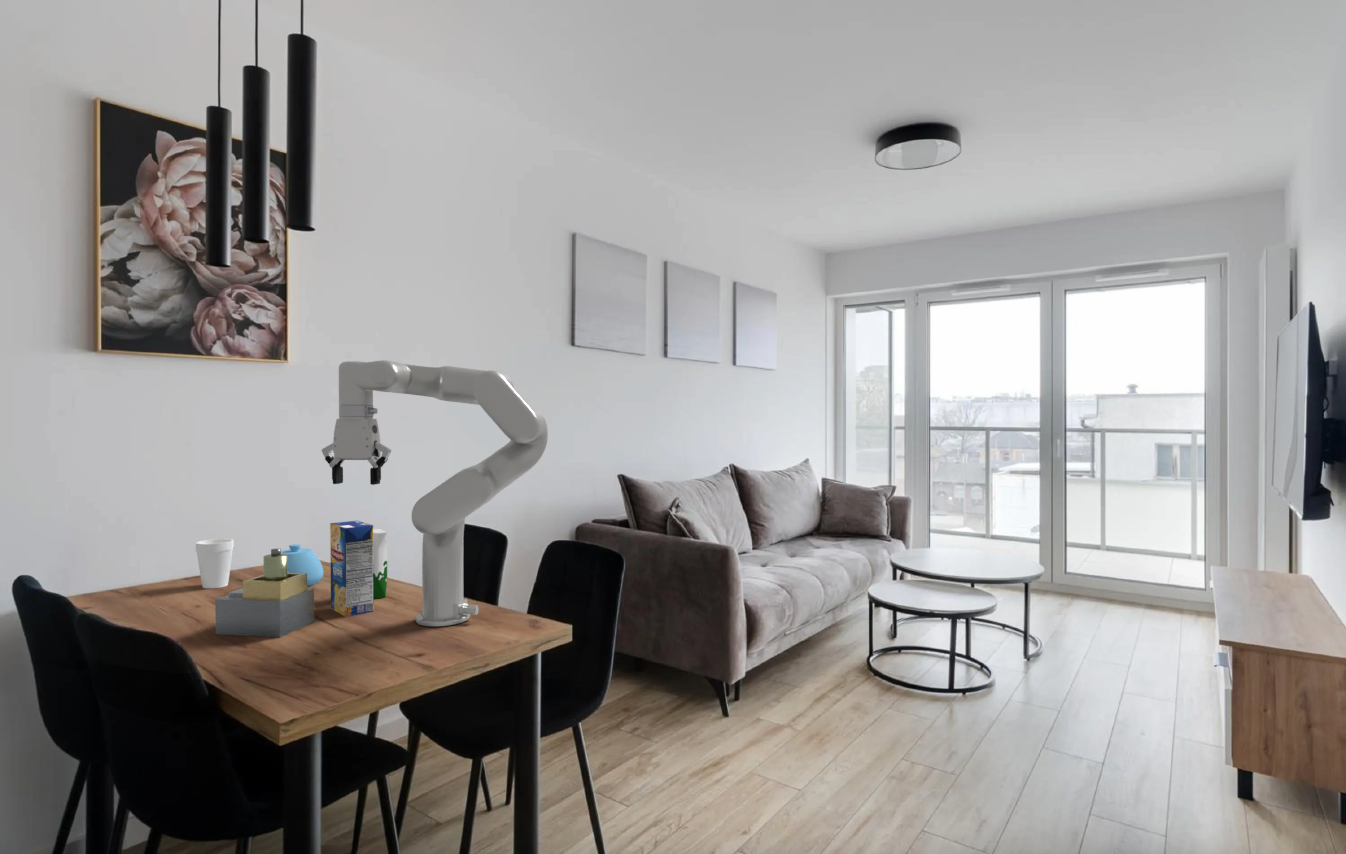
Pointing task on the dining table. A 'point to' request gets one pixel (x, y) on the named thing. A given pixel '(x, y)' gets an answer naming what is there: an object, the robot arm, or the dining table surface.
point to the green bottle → (275, 566)
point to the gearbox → (266, 607)
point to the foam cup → (214, 561)
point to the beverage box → (352, 568)
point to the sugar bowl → (304, 563)
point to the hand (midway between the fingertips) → (356, 483)
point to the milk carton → (379, 563)
